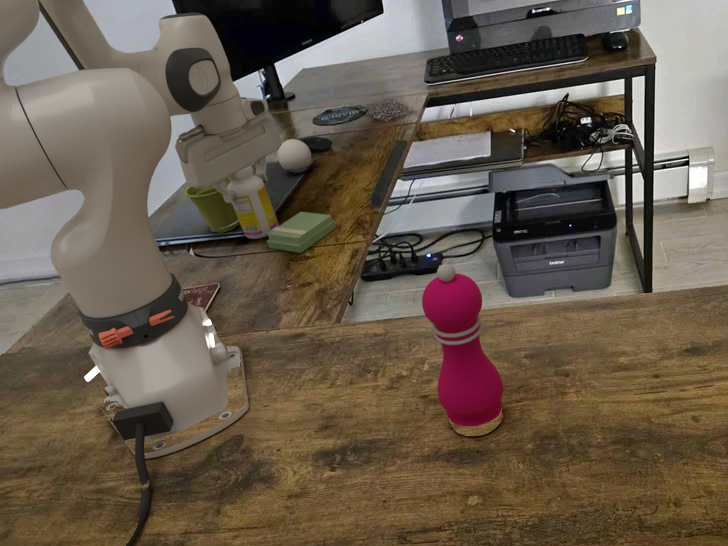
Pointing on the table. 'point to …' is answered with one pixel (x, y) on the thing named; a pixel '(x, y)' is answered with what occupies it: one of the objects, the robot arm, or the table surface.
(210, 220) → the plant pot
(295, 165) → the white rounded piece
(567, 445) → the table surface
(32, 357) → the table surface
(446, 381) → the pepper mill
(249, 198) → the supplement bottle
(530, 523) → the table surface
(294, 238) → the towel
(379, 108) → the rug
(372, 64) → the table surface
